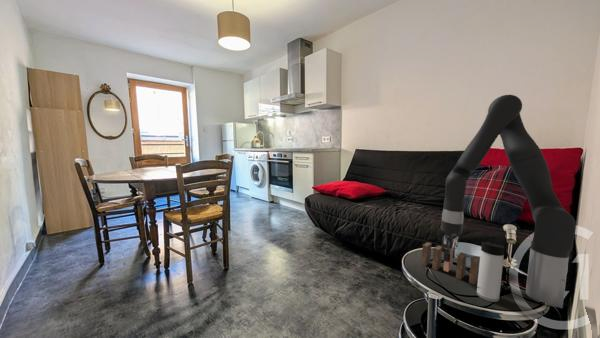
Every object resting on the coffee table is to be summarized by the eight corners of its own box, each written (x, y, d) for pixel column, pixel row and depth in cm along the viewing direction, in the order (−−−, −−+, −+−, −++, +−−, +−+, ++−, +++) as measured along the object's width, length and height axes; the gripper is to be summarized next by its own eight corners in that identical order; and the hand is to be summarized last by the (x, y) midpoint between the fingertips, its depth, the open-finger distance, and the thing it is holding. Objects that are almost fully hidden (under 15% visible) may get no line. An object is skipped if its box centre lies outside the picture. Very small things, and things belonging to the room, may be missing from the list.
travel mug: (473, 295, 84) (478, 241, 82) (480, 289, 88) (485, 238, 86) (495, 305, 79) (501, 248, 77) (501, 298, 83) (507, 243, 81)
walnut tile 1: (430, 263, 108) (431, 243, 107) (425, 266, 105) (427, 245, 104) (425, 261, 109) (427, 241, 108) (421, 264, 106) (422, 244, 105)
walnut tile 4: (477, 280, 94) (480, 257, 93) (474, 284, 91) (476, 261, 90) (472, 278, 96) (474, 256, 95) (468, 282, 92) (470, 259, 91)
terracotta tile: (452, 268, 101) (454, 246, 100) (448, 271, 98) (450, 250, 97) (447, 266, 102) (449, 245, 101) (443, 270, 99) (445, 248, 98)
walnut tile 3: (464, 275, 98) (466, 253, 97) (460, 279, 94) (462, 257, 94) (459, 273, 99) (461, 252, 98) (455, 277, 96) (457, 255, 95)
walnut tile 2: (440, 267, 104) (442, 246, 104) (436, 270, 101) (438, 249, 100) (436, 265, 106) (438, 245, 105) (432, 268, 103) (433, 248, 102)
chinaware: (498, 275, 98) (500, 258, 97) (459, 272, 100) (461, 254, 100) (477, 259, 113) (479, 243, 112) (444, 256, 115) (445, 241, 115)
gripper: (457, 226, 91) (453, 268, 92) (468, 219, 100) (464, 257, 101) (435, 221, 96) (432, 260, 98) (448, 215, 106) (445, 251, 107)
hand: (448, 259), depth 100 cm, fingers closed on terracotta tile, 5 cm apart
